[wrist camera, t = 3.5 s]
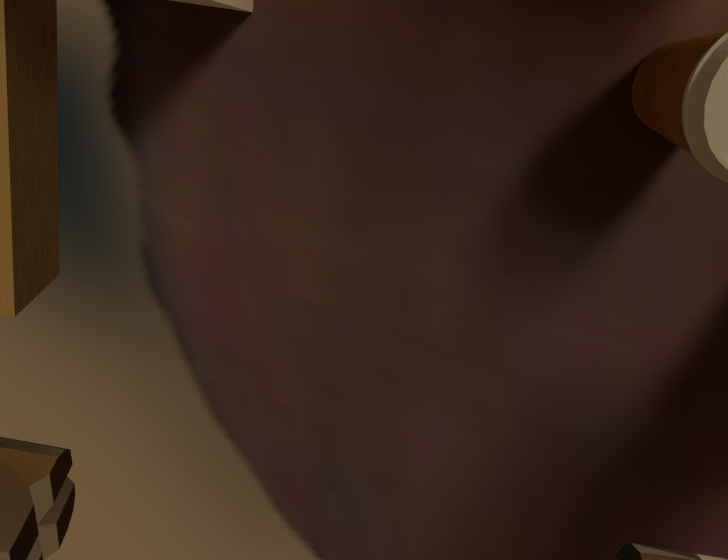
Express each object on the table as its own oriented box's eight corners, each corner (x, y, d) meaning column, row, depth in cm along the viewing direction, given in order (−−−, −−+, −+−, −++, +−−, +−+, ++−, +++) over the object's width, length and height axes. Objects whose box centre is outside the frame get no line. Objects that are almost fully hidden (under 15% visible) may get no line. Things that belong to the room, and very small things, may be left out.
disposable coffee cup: (582, 112, 50) (660, 136, 38) (665, -12, 47) (775, -25, 36) (682, 178, 52) (784, 219, 40) (766, 63, 49) (900, 72, 38)
